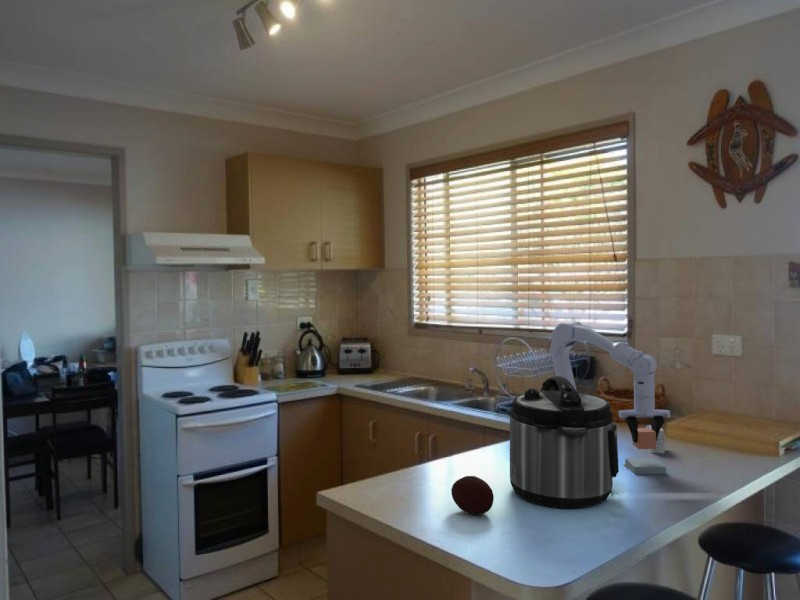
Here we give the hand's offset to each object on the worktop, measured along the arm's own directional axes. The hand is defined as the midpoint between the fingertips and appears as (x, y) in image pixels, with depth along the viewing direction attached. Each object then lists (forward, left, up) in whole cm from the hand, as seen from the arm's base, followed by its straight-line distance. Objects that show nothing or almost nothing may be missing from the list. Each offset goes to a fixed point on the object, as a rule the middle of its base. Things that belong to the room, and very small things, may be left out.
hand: (644, 441), depth 187 cm
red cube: (0, 0, -2) cm, 2 cm away
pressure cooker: (-28, -17, -10) cm, 34 cm away
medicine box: (+11, +20, -10) cm, 25 cm away
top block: (0, 0, -8) cm, 8 cm away
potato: (-54, -31, -10) cm, 63 cm away
